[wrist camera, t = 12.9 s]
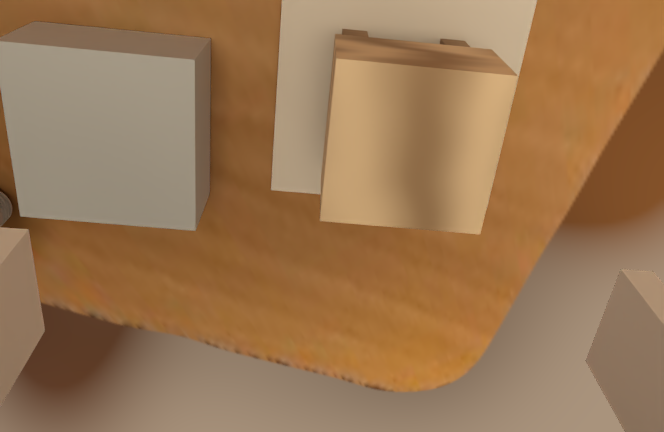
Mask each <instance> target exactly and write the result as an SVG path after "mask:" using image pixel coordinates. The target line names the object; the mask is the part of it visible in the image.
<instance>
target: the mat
mask: <svg viewBox="0 0 664 432" xmlns="http://www.w3.org/2000/svg"><path fill="white" fill-rule="evenodd" d="M536 3H537V0H282V9H281V26H280V43H279V60H278V78H277V95H276V112H275V129H274V146H273V164H272V181H271V190H276V191H287V192H299V193H311V194H320V193H321V172H322V162H323V152H324V142H325V131H326V121H327V111H328V101H329V91H330V81H331V71H332V61H333V50H334V40H335V34H342V29H351V30H361V31H367V33H368V36H369V37H372V38H382V39H393V40H403V41H413V42H423V43H433V44H440V39H451V40H461V41H465V42H466V43H467V44H468V45H469V46H470V47H473V48H483V49H492V50H493V51H494V52H495V53H496V54H497V55H498V56H499V57H500V58H501V59H502V60H503V61H504V62H505V63H506V64H507V65H508V66H509V67H510V68H511V69H512V70H513V71H514V72H515V73H516V74H517V75H518V77H519V73H520V69H521V65H522V61H523V56H524V52H525V48H526V44H527V40H528V36H529V32H530V28H531V23H532V19H533V15H534V11H535V7H536ZM517 81H518V80H517ZM516 85H517V84H516ZM515 90H516V88H515ZM514 94H515V92H514ZM513 98H514V96H513ZM512 102H513V101H512ZM511 106H512V105H511ZM510 110H511V109H510ZM509 114H510V113H509ZM508 118H509V117H508ZM507 123H508V121H507ZM506 127H507V125H506ZM505 131H506V130H505ZM504 135H505V134H504ZM503 139H504V138H503ZM502 143H503V142H502ZM501 147H502V146H501ZM500 152H501V150H500ZM499 156H500V154H499ZM498 160H499V159H498ZM497 164H498V163H497ZM496 168H497V167H496ZM495 172H496V171H495ZM494 176H495V175H494ZM493 180H494V179H493ZM492 185H493V183H492ZM491 189H492V188H491ZM490 193H491V192H490ZM489 197H490V196H489ZM488 201H489V200H488ZM487 205H488V204H487ZM486 209H487V208H486Z"/></svg>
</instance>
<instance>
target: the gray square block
mask: <svg viewBox="0 0 664 432" xmlns="http://www.w3.org/2000/svg"><path fill="white" fill-rule="evenodd" d="M0 89H1V95H2V102H3V108H4V115H5V121H6V128H7V134H8V141H9V147H10V153H11V160H12V166H13V173H14V179H15V186H16V192H17V199H18V205H19V212H20V217H33V218H45V219H57V220H69V221H81V222H93V223H106V224H118V225H130V226H142V227H154V228H167V229H179V230H191V231H196V228H197V226H198V223H199V221H200V218H201V215H202V213H203V210H204V207H205V205H206V202H207V200H208V197H209V194H210V110H211V38H202V37H192V36H182V35H172V34H161V33H151V32H141V31H131V30H120V29H110V28H100V27H90V26H80V25H69V24H59V23H49V22H39V21H34V22H32V23H30V24H27V25H25V26H23V27H21V28H19V29H17V30H15V31H12V32H10V33H8V34H6V35H4V36H2V37H0Z"/></svg>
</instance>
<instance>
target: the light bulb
mask: <svg viewBox="0 0 664 432" xmlns="http://www.w3.org/2000/svg"><path fill="white" fill-rule="evenodd" d="M11 214H12V204H11V202H10V200H9V198H8V197H7V196H6V195H5V194H4V193H2V192H1V191H0V227H1V226H2V225H3V224H4V223H5V222H6V221H7V220H8V219H9V218H10V216H11Z"/></svg>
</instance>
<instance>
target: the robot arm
mask: <svg viewBox="0 0 664 432" xmlns="http://www.w3.org/2000/svg"><path fill="white" fill-rule="evenodd" d="M44 331H45V328H44V321H43V315H42V309H41V303H40V297H39V290H38V284H37V278H36V272H35V266H34V259H33V253H32V247H31V241H30V235H29V229H17V228H2V227H0V406H1V405H2V403H3V401H4V399H5V398H6V396H7V395H8V393H9V391H10V389H11V388H12V386H13V384H14V383H15V381H16V379H17V377H18V376H19V374H20V372H21V370H22V369H23V367H24V365H25V364H26V362H27V360H28V358H29V357H30V355H31V354H32V352H33V350H34V348H35V347H36V345H37V343H38V342H39V340H40V338H41V336H42V335H43V333H44ZM586 362H587V364H588V366H589V368H590V370H591V372H592V373H593V375H594V377H595V378H596V381H597V382H598V384H599V386H600V388H601V390H602V391H603V393H604V395H605V397H606V399H607V400H608V402H609V404H610V406H611V408H612V409H613V411H614V413H615V415H616V416H617V418H618V420H619V422H620V424H621V426H622V427H623V429H624V431H625V432H664V284H663V282H662V281H661V280H660V279H659V278H658V276H657V275H656V274H655V273H654V272H653V271H641V270H628V269H627V270H626V269H621V270H620V272H619V275H618V278H617V280H616V283H615V285H614V288H613V291H612V293H611V296H610V299H609V301H608V304H607V306H606V309H605V312H604V314H603V317H602V319H601V322H600V325H599V328H598V330H597V333H596V335H595V338H594V340H593V343H592V346H591V348H590V351H589V354H588V356H587V359H586Z"/></svg>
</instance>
